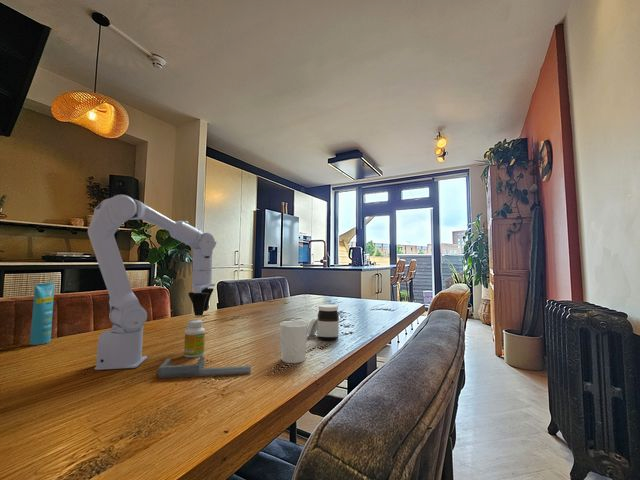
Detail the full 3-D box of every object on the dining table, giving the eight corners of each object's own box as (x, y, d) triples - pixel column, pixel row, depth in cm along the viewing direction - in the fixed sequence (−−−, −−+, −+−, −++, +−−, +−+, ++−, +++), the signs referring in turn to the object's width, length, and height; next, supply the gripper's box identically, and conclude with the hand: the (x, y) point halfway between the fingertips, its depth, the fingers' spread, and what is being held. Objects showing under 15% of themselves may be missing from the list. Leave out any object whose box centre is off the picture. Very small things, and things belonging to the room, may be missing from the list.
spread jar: (339, 342, 101) (339, 308, 102) (306, 342, 101) (306, 307, 102) (337, 333, 113) (337, 302, 114) (307, 333, 113) (308, 302, 114)
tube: (41, 346, 92) (45, 283, 93) (22, 346, 91) (27, 283, 92) (56, 339, 99) (60, 281, 100) (39, 340, 98) (44, 281, 99)
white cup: (311, 357, 86) (312, 322, 86) (298, 366, 79) (299, 328, 79) (288, 353, 89) (289, 319, 90) (273, 361, 82) (274, 324, 82)
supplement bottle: (196, 358, 83) (198, 323, 83) (179, 357, 84) (181, 322, 85) (207, 352, 88) (209, 319, 89) (191, 351, 89) (193, 318, 90)
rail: (158, 378, 69) (158, 367, 69) (166, 368, 75) (167, 358, 76) (250, 373, 73) (250, 362, 73) (251, 363, 80) (251, 354, 80)
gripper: (211, 271, 89) (210, 317, 88) (218, 268, 103) (217, 308, 102) (186, 271, 87) (185, 318, 87) (196, 269, 102) (196, 309, 101)
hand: (201, 313), depth 94 cm, fingers open, 7 cm apart
